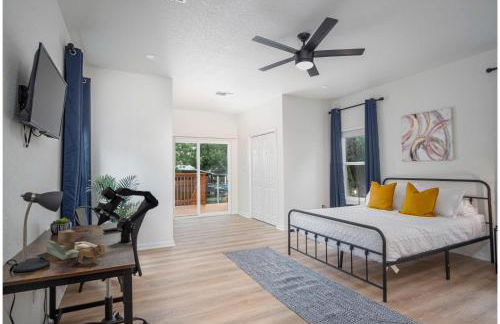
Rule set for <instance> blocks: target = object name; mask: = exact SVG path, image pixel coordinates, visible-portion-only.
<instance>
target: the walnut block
mask: <svg viewBox="0 0 500 324" xmlns="http://www.w3.org/2000/svg"><path fill="white" fill-rule="evenodd" d="M57 232H58V233H57V243H58V244H61V245H63V246H66V251H67V250H72V249H75V243H76V242H75V241H76V231H75V230H73V229H65V230H58V231H57Z"/></svg>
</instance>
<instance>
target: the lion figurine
mask: <svg viewBox="0 0 500 324" xmlns="http://www.w3.org/2000/svg"><path fill="white" fill-rule="evenodd" d="M105 252H106V245H105V244H103V243H102V244H101V243H100V244H98V245H97V246H96V247H94V248H93V249H91V250H85V249H82V250H80V251H79V253H78V255H77V257H75V260H73V263H75V262H78V263H80V264H82V265H84V263H85V262H84V261H83V258H84V257H86V258H92V259H93V263H94V264H97V262H98V260H97V258H99V257H100V256H101V255H103V254H104V253H105ZM79 254H80V256H79Z"/></svg>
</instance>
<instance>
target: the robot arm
mask: <svg viewBox="0 0 500 324" xmlns="http://www.w3.org/2000/svg"><path fill="white" fill-rule="evenodd" d="M100 195H101V196H102V197H103V198H105V199H106V200H107V201H109V202H106V203H104V202H98V204H97V206H94V208H93V209H92V211H93V212H95V213H96V214H97V215H99V217H98V221H97V223H96V226H97V227H100V226H101V225H103V224H106V223H107V222H109V221H112V218H114V220H115V221H117V223H116V229H117V230H118V232H119V233H120V240H119V241H118V243H122V244H123V243H126V244H127V243H130V242H132V241H133V239H131V234H132V233H133V232H134V228H133V227H132V226H133V224H134V223H135V222H136V221H137V220H139V219H140V218H141V217H142V216H144V215H145V214H147V212H149V211H150V210H153V209H155V208H157V207H158V206H159V204H160V203H159V200H158V199H157V198H156V197H155V196H154V195H153V194H152V192H151V191H149V190H135V189H131V188H128V187H122V186H121V187H118V188H117V189H115V190H114V189H113V188H112V187H111V186H107V187H106V188H104V189H103V190H102V191H101V192H100ZM130 196H139V197H143V198H144V201H145V202H144V204H143V206H141V207H140V208H139V209H138V210H136V211H135V212H134V213H133V214H131V215H130V216H128V217H122V218H121V215H119V214H118V213H117V212H115V211H116V210H118V209H119V208H118V207H119V206H120V204H121V203H125V202H126V200H125V197H130Z"/></svg>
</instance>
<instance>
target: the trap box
mask: <svg viewBox="0 0 500 324" xmlns="http://www.w3.org/2000/svg"><path fill="white" fill-rule="evenodd" d="M96 246H98V245H97V244H94V243H91V242H89V241H88V242H87V241H85V240H84V241H77V242H75V249H72V250H67V251H66V246H63V245H61V244H58V242H56V241H53V240H50V239H49V240H46V253H47V254H49V255H52V256H54V257H56V258H58V259H60V260H62V261H64V260H68V259H74V258H77V255H78V253H79V251H80V250H82V249H85V250H91V249H93V248H94V247H96ZM78 257H80V254H79V256H78Z"/></svg>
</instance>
